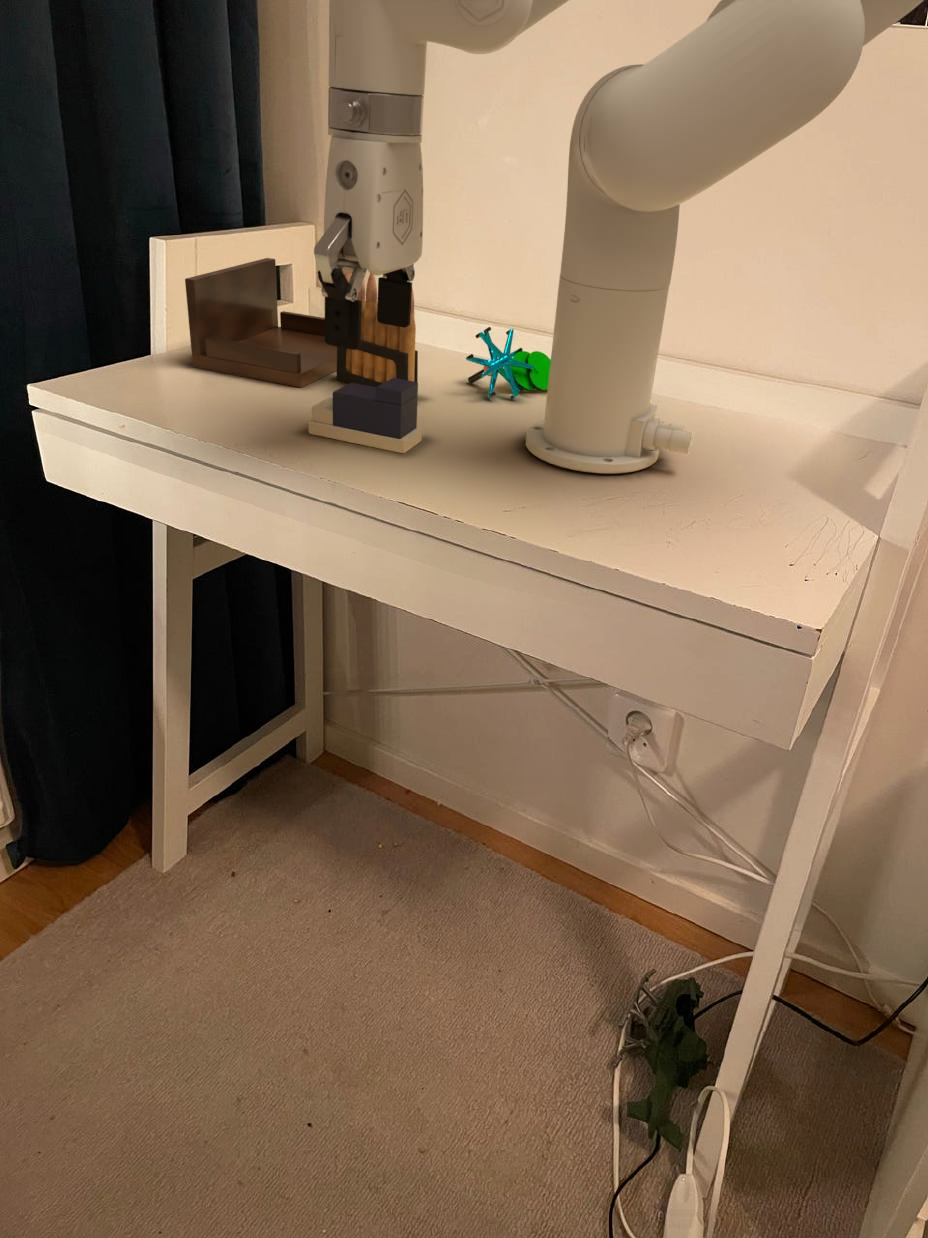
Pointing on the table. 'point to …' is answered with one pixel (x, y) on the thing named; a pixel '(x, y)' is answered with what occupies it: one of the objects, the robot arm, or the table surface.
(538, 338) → the table surface
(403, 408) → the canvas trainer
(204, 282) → the wooden book end
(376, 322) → the ammunition clip
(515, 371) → the stick construction toy
